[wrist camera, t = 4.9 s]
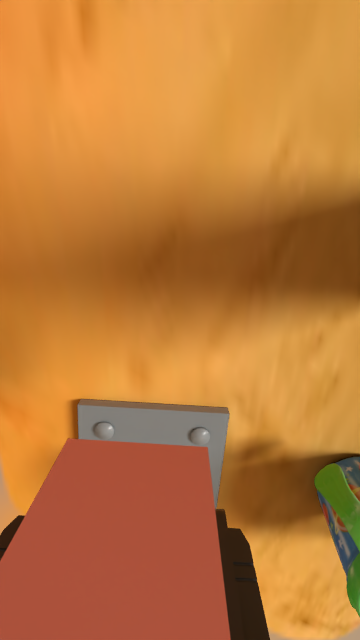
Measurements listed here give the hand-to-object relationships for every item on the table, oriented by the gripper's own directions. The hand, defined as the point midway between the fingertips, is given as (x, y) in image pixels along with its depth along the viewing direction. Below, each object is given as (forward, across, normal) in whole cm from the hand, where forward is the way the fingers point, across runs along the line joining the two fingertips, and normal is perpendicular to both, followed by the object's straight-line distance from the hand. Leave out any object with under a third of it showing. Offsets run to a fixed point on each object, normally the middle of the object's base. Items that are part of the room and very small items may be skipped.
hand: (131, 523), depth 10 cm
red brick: (+1, 0, 0) cm, 1 cm away
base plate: (+17, 0, +13) cm, 21 cm away
